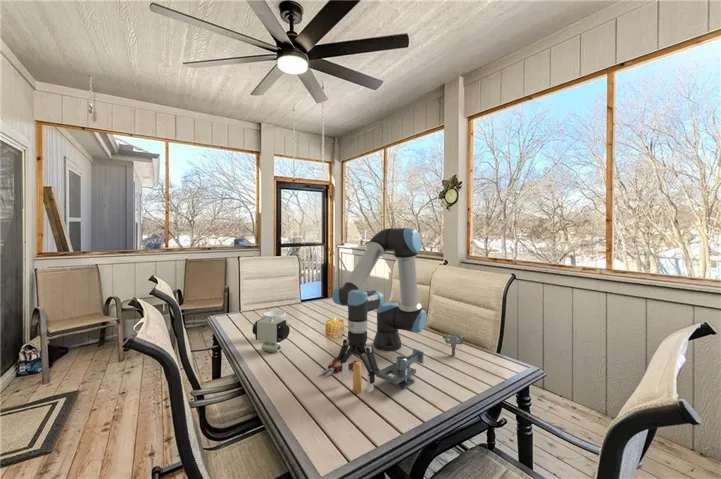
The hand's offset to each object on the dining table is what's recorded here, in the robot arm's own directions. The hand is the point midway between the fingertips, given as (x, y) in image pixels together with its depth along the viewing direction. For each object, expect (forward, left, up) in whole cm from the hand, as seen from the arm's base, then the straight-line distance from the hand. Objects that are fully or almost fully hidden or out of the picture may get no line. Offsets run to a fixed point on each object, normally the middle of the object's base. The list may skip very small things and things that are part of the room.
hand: (357, 384), depth 121 cm
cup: (-74, +8, -3) cm, 74 cm away
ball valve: (-60, -2, -3) cm, 60 cm away
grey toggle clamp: (+8, +19, -3) cm, 21 cm away
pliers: (-22, +8, -4) cm, 24 cm away
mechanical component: (+10, +59, -3) cm, 60 cm away
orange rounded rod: (0, 0, -3) cm, 3 cm away
